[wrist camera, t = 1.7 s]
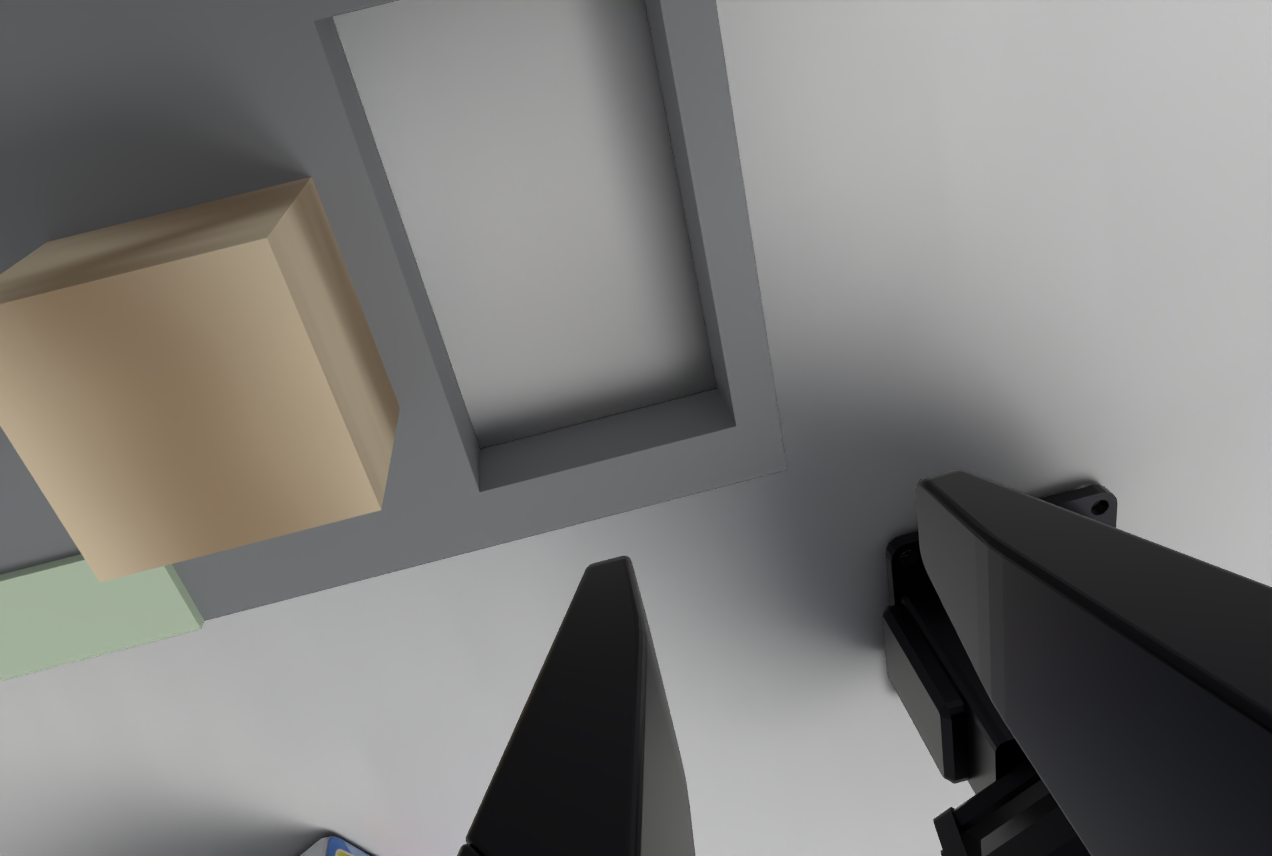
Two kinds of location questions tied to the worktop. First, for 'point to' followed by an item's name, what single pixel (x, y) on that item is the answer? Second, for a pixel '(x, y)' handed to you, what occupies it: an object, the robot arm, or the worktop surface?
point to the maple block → (195, 380)
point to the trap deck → (382, 278)
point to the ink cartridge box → (333, 848)
